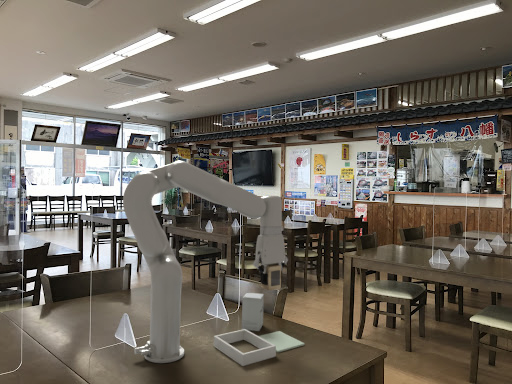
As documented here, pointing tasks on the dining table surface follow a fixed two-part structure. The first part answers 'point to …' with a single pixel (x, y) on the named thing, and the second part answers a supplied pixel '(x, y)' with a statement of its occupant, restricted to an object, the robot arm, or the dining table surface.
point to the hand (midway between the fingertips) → (270, 282)
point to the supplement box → (252, 311)
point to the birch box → (273, 277)
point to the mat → (282, 341)
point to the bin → (243, 359)
